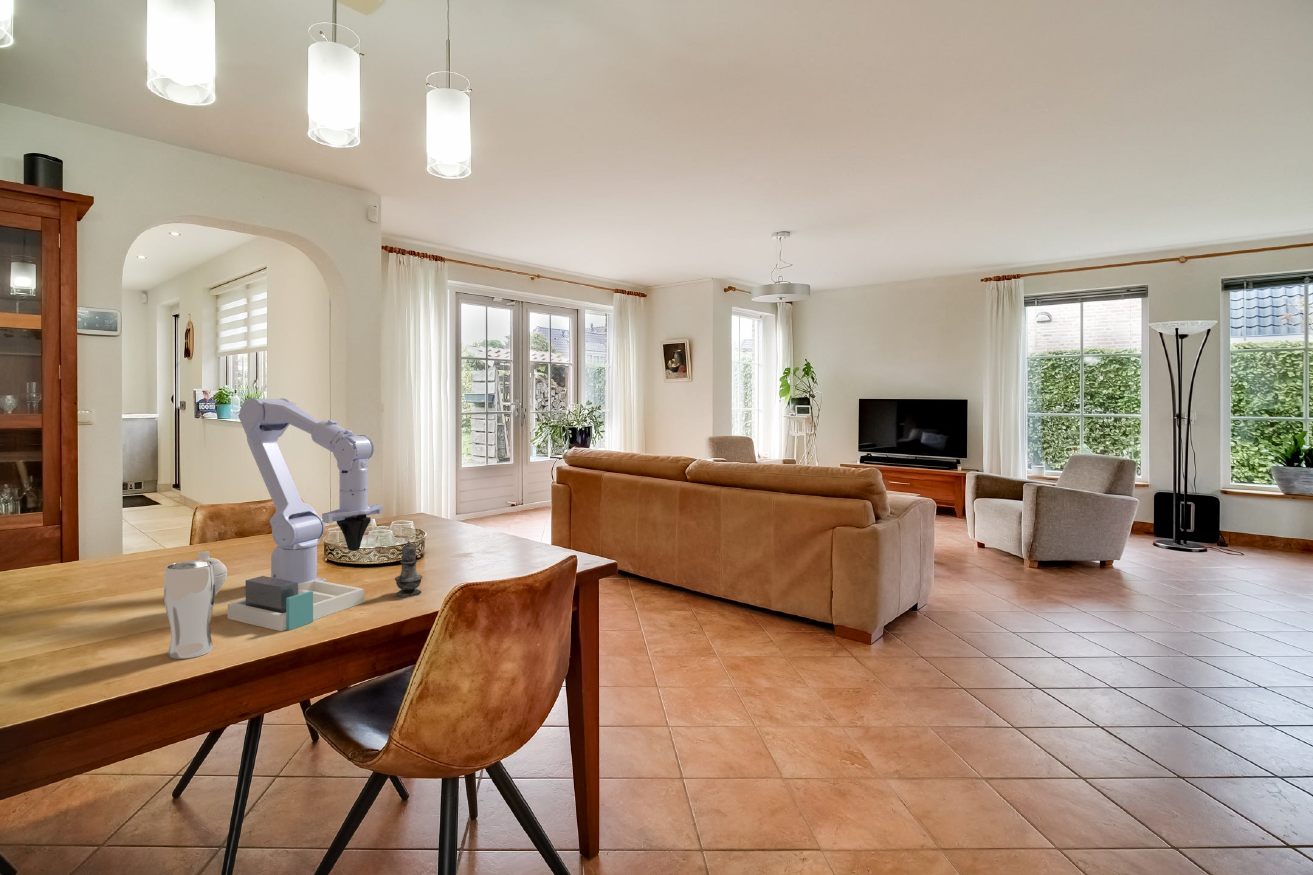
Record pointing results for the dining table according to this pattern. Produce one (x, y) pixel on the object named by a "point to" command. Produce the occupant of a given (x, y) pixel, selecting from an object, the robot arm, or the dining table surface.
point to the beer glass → (189, 607)
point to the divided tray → (300, 606)
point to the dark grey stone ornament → (408, 573)
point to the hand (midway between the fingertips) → (353, 549)
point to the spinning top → (215, 569)
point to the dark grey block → (269, 593)
